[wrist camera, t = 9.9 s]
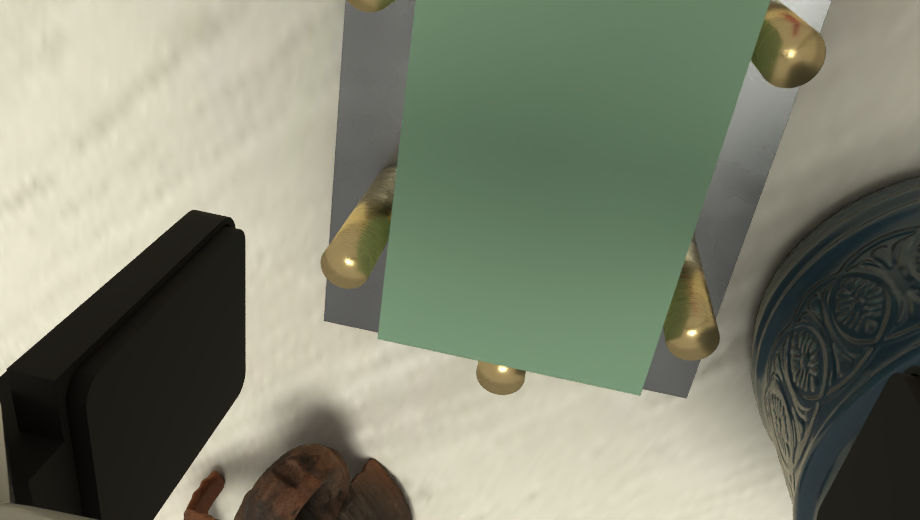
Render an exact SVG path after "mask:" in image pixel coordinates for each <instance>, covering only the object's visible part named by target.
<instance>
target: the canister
mask: <svg viewBox="0 0 920 520" xmlns="http://www.w3.org/2000/svg"><path fill="white" fill-rule="evenodd" d="M911 366H920V177H916V178H912V179H909V180H906V181H903V182H900V183H896V184H894V185H891V186H888V187H886V188H883V189H881V190H878V191H876V192H874V193H872V194H870V195H867V196H865V197H863V198H861V199H860V200H858V201H856V202H854V203H852V204H850V205H849V206H847V207H845V208H844V209H842V210H841V211H839V212H837V213H836V214H834V215H833V216H832V217H830V218H829V219H827V220H826V221H825V222H823V223H822V224H821V225H819V226H818V227H817V228H816V229H815V230H813V231H812V232H811V233H810V234H809V235H808V236H807V237H806V238H805V239H804V240H802V241H801V242H800V243H799V244H798V246H797V247H796V248H795V249H794V250H793V251H792V252H791V253H790V254H789V256H788V257H787V258H786V259H785V261H784V262H783V263H782V265H781V266H780V267H779V269H778V270H777V272H776V273H775V275H774V277H773V278H772V280H771V282H770V284H769V285H768V287H767V289H766V292H765V294H764V296H763V298H762V301H761V304H760V307H759V309H758V313H757V317H756V321H755V326H754V333H753V347H752V357H751V374H752V383H753V390H754V394H755V398H756V401H757V405H758V409H759V413H760V416H761V419H762V422H763V424H764V427H765V429H766V431H767V433H768V435H769V437H770V439H771V440H772V442H773V444H774V445H775V447H776V450H777V454H778V457H779V461H780V464H781V467H782V471H783V474H784V477H785V481H786V484H787V487H788V491H789V494H790V498H791V501H792V504H793V520H817V514H818V510H819V508H820V505H821V504H822V502H823V500H824V498H825V496H826V494H827V492H828V491H829V489H830V487H831V485H832V483H833V481H834V479H835V477H836V476H837V474H838V472H839V470H840V468H841V466H842V464H843V462H844V461H845V459H846V457H847V455H848V453H849V451H850V449H851V447H852V446H853V444H854V442H855V440H856V438H857V436H858V434H859V433H860V431H861V429H862V427H863V425H864V423H865V421H866V419H867V418H868V416H869V414H870V412H871V410H872V408H873V406H874V404H875V403H876V401H877V399H878V397H879V395H880V393H881V391H882V389H883V388H884V386H885V384H886V382H887V380H888V379H889V377H890V376H891V375H892V374H894V373H897V372H898V373H904V371H905V370H907V369H908V368H909V367H911Z"/></svg>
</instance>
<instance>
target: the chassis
mask: <svg viewBox="0 0 920 520" xmlns="http://www.w3.org/2000/svg"><path fill="white" fill-rule="evenodd" d="M415 2H416V0H346V3H345V18H344V32H343V47H342V62H341V77H340V91H339V106H338V121H337V135H336V150H335V165H334V180H333V194H332V209H331V224H330V239H329V246H328V247H327V249H326V250H325V252H324V253H323V255H322V258H321V268H322V271H323V274H324V275H325V277H326V278H327V283H326V298H325V312H324V321H327V322H331V323H336V324H341V325H345V326H350V327H355V328H359V329H364V330H369V331H373V332H378V330H379V321H380V312H381V303H382V295H383V286H384V277H385V268H386V259H387V250H388V241H389V232H390V224H391V215H392V206H393V197H394V188H395V179H396V170H397V161H398V153H399V144H400V135H401V126H402V117H403V108H404V99H405V90H406V81H407V73H408V64H409V55H410V46H411V37H412V28H413V19H414V10H415ZM830 3H831V0H770V3H769V6H768V9H767V12H766V15H765V18H764V21H763V24H762V27H761V30H760V33H759V36H758V39H757V43H756V46H755V49H754V52H753V55H752V58H751V61H750V64H749V67H748V70H747V73H746V76H745V79H744V82H743V85H742V88H741V91H740V94H739V97H738V100H737V103H736V106H735V109H734V112H733V115H732V118H731V122H730V125H729V128H728V131H727V134H726V137H725V140H724V143H723V146H722V149H721V152H720V155H719V158H718V161H717V164H716V167H715V170H714V173H713V176H712V179H711V182H710V185H709V188H708V191H707V194H706V197H705V200H704V204H703V207H702V210H701V213H700V216H699V219H698V222H697V225H696V228H695V231H694V234H693V237H692V240H691V243H690V246H689V249H688V252H687V255H686V258H685V261H684V264H683V267H682V270H681V273H680V276H679V279H678V283H677V286H676V289H675V292H674V295H673V298H672V301H671V304H670V307H669V310H668V313H667V316H666V319H665V322H664V325H663V328H662V331H661V334H660V337H659V340H658V343H657V346H656V349H655V352H654V355H653V358H652V362H651V365H650V368H649V371H648V374H647V377H646V380H645V383H644V386H643V389H645V390H650V391H655V392H659V393H664V394H669V395H673V396H678V397H683V398H687V396H688V393H689V390H690V387H691V385H692V382H693V379H694V376H695V374H696V371H697V368H698V365H699V363H700V360H701V359H703V358H706V357H707V356H709V355H711V354H712V353H713V352H714V351H715V350H716V348H717V346H718V344H719V340H720V336H719V331H718V327H717V323H716V316H717V313H718V310H719V308H720V305H721V302H722V300H723V297H724V294H725V291H726V289H727V286H728V283H729V280H730V278H731V275H732V272H733V269H734V267H735V264H736V261H737V258H738V256H739V253H740V250H741V247H742V245H743V242H744V239H745V236H746V234H747V231H748V228H749V225H750V223H751V220H752V217H753V214H754V212H755V209H756V206H757V203H758V201H759V198H760V195H761V192H762V190H763V187H764V184H765V181H766V179H767V176H768V173H769V170H770V168H771V165H772V162H773V159H774V157H775V154H776V151H777V148H778V146H779V143H780V140H781V137H782V135H783V132H784V129H785V126H786V124H787V121H788V118H789V115H790V113H791V110H792V107H793V105H794V102H795V99H796V96H797V94H798V91H799V88H800V86H801V85H803V84H805V83H807V82H808V81H810V80H811V79H812V78H813V77H814V76H815V75H816V74H817V73H818V72H819V71H820V69H821V67H822V65H823V63H824V60H825V55H826V47H825V43H824V40H823V38H822V36H821V35H820V34H819V33H820V30H821V28H822V25H823V22H824V19H825V17H826V14H827V11H828V8H829V6H830ZM525 373H526V371H524V370H520V369H515V368H510V367H506V366H501V365H496V364H492V363H487V362H482V361H479V362H478V366H477V371H476V375H477V379H478V381H479V383H480V384H481V386H482V387H483V388H485V389H486V390H487V391H489V392H491V393H494V394H498V395H507V394H511V393H514V392H516V391H517V390H519V389H520V388H521V386H522V385H523V383H524V380H525Z"/></svg>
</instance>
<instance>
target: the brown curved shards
mask: <svg viewBox="0 0 920 520" xmlns="http://www.w3.org/2000/svg"><path fill="white" fill-rule="evenodd" d="M223 488H224V479H223V478H222V477H221V475H220V474H219V473H218V472H217V471H213V472H212V473H211V474H210V476H209V477H207V478H206V479H204V480H203V481H202V482H201V485H200V487H199V488H198V489H197V490H196V491H195V492H194V493H193V495H192V499H191V501H190V503H189V505H188V506H187V509H186V511H185V512H184V520H218V519H214V518H213V517H212V516H211V515H209V514H208V510H209V509H210V507H211V505H212V504H213V502H214V501H215V499H216V498H217V497H218V495H219V494H220V492H221V491H222V489H223ZM234 520H412V519H411V516H410V512H409V507H408V505H407V503H406V502H405V500H404V498H403V495H402V492H401V491H400V490H399V488H398V486H397V484H396V483H395V482H394V481H393V479H392V478H391V477H390V476H389V474H388V473H387V472H386V471H385V470H384V468H382V467H381V465H380V464H379V463H378V462H377V461H376V460H374V459H371V460H369V461H368V462H367V463H366V464H365V466H364V468H363V469H362V471H361V473H358V474H357V475H356V476H355V477H354V478H353V479H352V481H351V482H350V474H349V471H348V467H347V464H346V462H345V461H344V459H343V458H342V456H341V455H340V454H339V453H338V452H337V451H336V450H334V449H331V448H327V447H324V446H322V445H320V444H309V445H302V446H299V447H296V448H294V449H292V450H290V451H288V452H287V453H286V454H284V455H283V456H281V457H280V458H279V459H278V460H277V461H276V462H274V463H273V464H272V465H271V466H270V467H269V468H268V469H267V470H266V471H265V472H264V473H263V474H262V475H261V477H260V478H259V479H258V480H257V482H256V483H255V485H254V487H253V488H252V490H250V491H249V492H248V493H247V494H246V495H245V496H244V499H243V501H242V504H241V505H240V508H239V510H238V512H237V513H236V515H235V518H234Z"/></svg>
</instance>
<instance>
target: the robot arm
mask: <svg viewBox="0 0 920 520" xmlns="http://www.w3.org/2000/svg"><path fill="white" fill-rule="evenodd" d="M245 371H246V364H245V235H244V232H243V231H242V230H240V229H236V228H235V224H234V221H233V220H232V219H231V218H230V217H226V216H221V215H217V214H212V213H207V212H203V211H198V210H192V211H190V212H188V213H187V214H186V215H185V216H183V217H182V218H181V219H180V220H179V221H178V222H177V223H175V224H174V225H173V226H172V227H171V228H170V229H168V230H167V231H166V232H165V233H164V234H163V235H161V236H160V237H159V238H158V239H157V240H156V241H155V242H153V243H152V244H151V245H150V246H149V247H148V248H146V249H145V250H144V251H143V252H142V253H141V254H139V255H138V256H137V257H136V258H135V259H134V260H132V261H131V262H130V263H129V264H128V265H127V266H126V267H124V268H123V269H122V270H121V271H120V272H119V273H117V274H116V275H115V276H114V277H113V278H112V279H110V280H109V281H108V282H107V283H106V284H105V285H104V286H102V287H101V288H100V289H99V290H98V291H97V292H95V293H94V294H93V295H92V296H91V297H90V298H88V299H87V300H86V301H85V302H84V303H83V304H81V305H80V306H79V307H78V308H77V309H76V310H75V311H73V312H72V313H71V314H70V315H69V316H68V317H66V318H65V319H64V320H63V321H62V322H61V323H59V324H58V325H57V326H56V327H55V328H54V329H52V330H51V331H50V332H49V333H48V334H47V335H46V336H44V337H43V338H42V339H41V340H40V341H39V342H37V343H36V344H35V345H34V346H33V347H32V348H30V349H29V350H28V351H27V352H26V353H25V354H24V355H22V356H21V357H20V358H19V359H18V360H17V361H15V362H14V363H13V364H12V365H11V366H10V367H8V368H7V371H6V372H5V373H4V374H3V375H2V376H1V377H0V520H153V519H154V518H155V516H156V515H157V513H158V512H159V511H160V509H161V508H162V506H163V505H164V503H165V502H166V500H167V499H168V497H169V496H170V495H171V493H172V492H173V490H174V489H175V487H176V486H177V484H178V483H179V481H180V480H181V479H182V477H183V476H184V474H185V473H186V471H187V470H188V468H189V467H190V465H191V464H192V463H193V461H194V460H195V458H196V457H197V455H198V454H199V452H200V451H201V449H202V448H203V447H204V445H205V444H206V442H207V441H208V439H209V438H210V436H211V435H212V434H213V432H214V431H215V429H216V428H217V426H218V425H219V423H220V422H221V420H222V419H223V418H224V416H225V415H226V413H227V412H228V410H229V409H230V407H231V406H232V404H233V403H234V402H235V400H236V399H237V397H238V395H239V394H240V392H241V389H242V387H243V383H244V379H245ZM817 520H920V366H911V367H909V368H908V369H907V370H905V371H904V373H898V372H897V373H894V374H892V375H891V376H890V377H889V379H888V380H887V382H886V384H885V386H884V388H883V389H882V391H881V393H880V395H879V397H878V399H877V401H876V403H875V404H874V406H873V408H872V410H871V412H870V414H869V416H868V418H867V419H866V421H865V423H864V425H863V427H862V429H861V431H860V433H859V434H858V436H857V438H856V440H855V442H854V444H853V446H852V447H851V449H850V451H849V453H848V455H847V457H846V459H845V461H844V462H843V464H842V466H841V468H840V470H839V472H838V474H837V476H836V477H835V479H834V481H833V483H832V485H831V487H830V489H829V491H828V492H827V494H826V496H825V498H824V500H823V502H822V504H821V505H820V508H819V510H818V514H817Z"/></svg>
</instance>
